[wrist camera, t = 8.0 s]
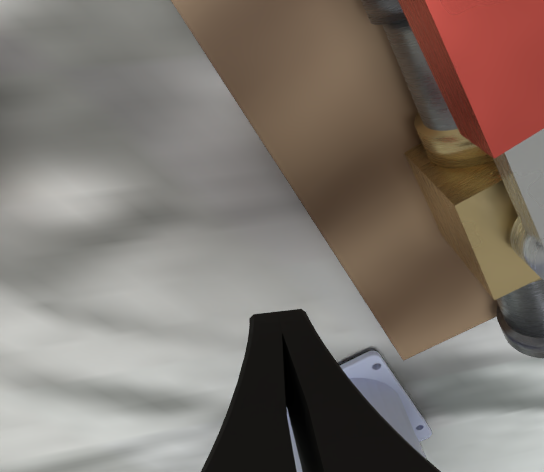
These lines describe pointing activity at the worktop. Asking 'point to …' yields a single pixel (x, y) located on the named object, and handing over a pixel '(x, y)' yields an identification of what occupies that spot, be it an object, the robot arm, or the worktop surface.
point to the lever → (494, 94)
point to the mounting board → (345, 152)
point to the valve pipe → (465, 192)
